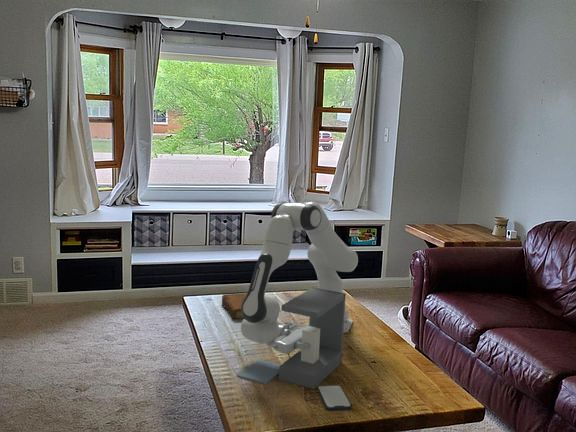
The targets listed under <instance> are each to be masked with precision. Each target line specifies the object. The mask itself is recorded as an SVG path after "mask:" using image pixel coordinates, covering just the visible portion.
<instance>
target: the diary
mask: <svg viewBox="0 0 576 432" xmlns="http://www.w3.org/2000/svg"><path fill="white" fill-rule="evenodd" d="M247 293H248V292H241V293H240V292H239V293H226V294H223V295H222V296H221V305H222V306H223V307H224V308H225V310H226V311H227V312H228V314H229V315H230V316H231V317H232V318H233V320H234V321H239V320H244V317H243V316H242V313H241V304H242V302H243V300H244V298H245V297H246V295H247ZM238 319H239V320H238Z"/></svg>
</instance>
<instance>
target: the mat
mask: <svg viewBox="0 0 576 432" xmlns="http://www.w3.org/2000/svg"><path fill="white" fill-rule="evenodd" d="M280 365H281V364H279V363H275V362H271V361H269V360H268V361H267V360H263V359H260V358H259V359H258V360H257V361H255V362H254V363H251V365H249V366H248V367H246V368H245V369H244V370H242V371H240V372H239V373H238V374H237V375H236V377H238V378H241V379H244V380H245V379H246V380H248V381H252V382H255V383H259V384H263V385H267V384H268V383H270V382H271V381H272V380H273V379H275V378H276V377H277V376H279V366H280Z"/></svg>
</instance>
